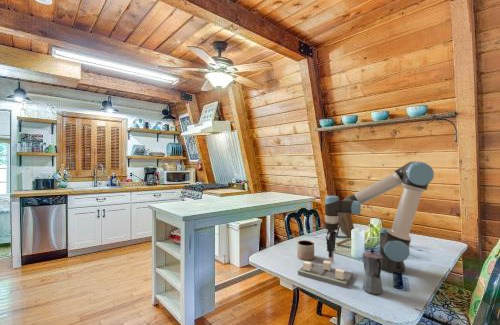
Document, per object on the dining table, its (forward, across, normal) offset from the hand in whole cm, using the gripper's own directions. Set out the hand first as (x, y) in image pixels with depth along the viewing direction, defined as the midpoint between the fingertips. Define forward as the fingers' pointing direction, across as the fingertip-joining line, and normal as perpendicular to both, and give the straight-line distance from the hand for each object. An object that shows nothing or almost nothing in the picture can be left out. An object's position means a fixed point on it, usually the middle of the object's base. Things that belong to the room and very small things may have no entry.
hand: (331, 261), depth 154 cm
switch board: (+4, +11, 0) cm, 12 cm away
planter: (+4, -8, -19) cm, 21 cm away
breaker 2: (+2, +14, +9) cm, 17 cm away
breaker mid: (+2, +7, 0) cm, 8 cm away
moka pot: (+4, +14, +25) cm, 29 cm away
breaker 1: (+2, +14, -9) cm, 17 cm away
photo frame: (+4, -71, -12) cm, 72 cm away
